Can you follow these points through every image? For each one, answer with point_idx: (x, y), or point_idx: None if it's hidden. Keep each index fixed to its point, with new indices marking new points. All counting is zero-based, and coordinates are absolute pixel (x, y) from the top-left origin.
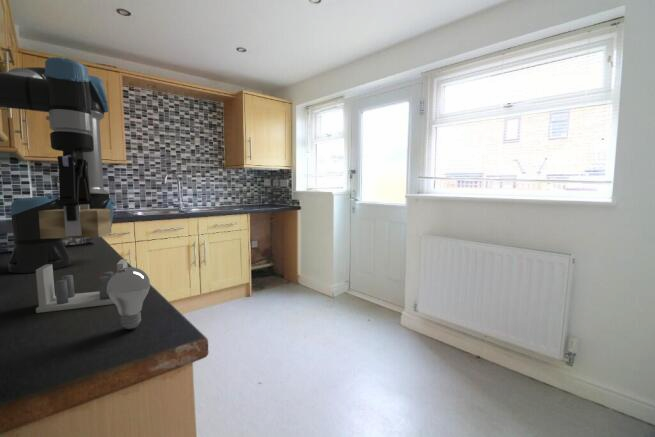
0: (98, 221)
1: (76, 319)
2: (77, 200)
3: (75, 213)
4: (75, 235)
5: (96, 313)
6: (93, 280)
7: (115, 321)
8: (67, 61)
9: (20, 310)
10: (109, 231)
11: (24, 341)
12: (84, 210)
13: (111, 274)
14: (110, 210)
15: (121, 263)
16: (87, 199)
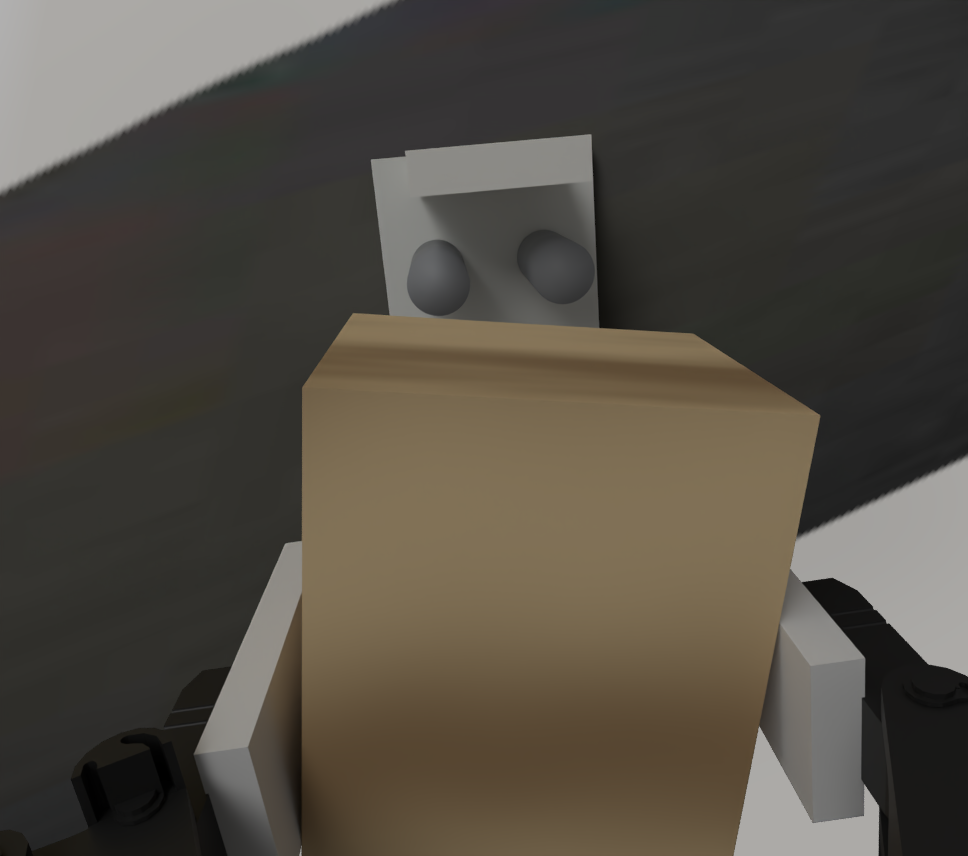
0: (731, 372)
1: (764, 311)
2: (938, 724)
3: (844, 630)
4: None
5: (713, 242)
6: (39, 484)
7: (873, 103)
8: None
9: None
10: (405, 321)
11: (939, 417)
12: (722, 598)
13: (454, 256)
14: None
15: (583, 147)
16: (195, 831)
